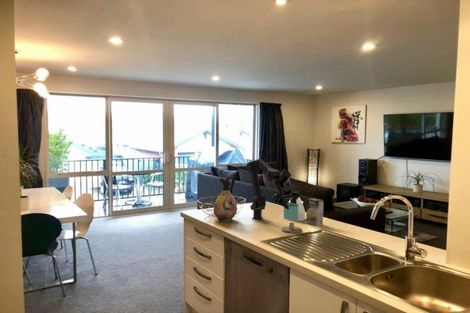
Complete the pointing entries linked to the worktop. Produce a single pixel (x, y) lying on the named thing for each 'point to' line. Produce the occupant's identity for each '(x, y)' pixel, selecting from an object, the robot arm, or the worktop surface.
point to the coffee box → (314, 212)
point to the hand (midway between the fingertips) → (292, 208)
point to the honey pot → (300, 210)
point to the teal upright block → (291, 212)
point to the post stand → (291, 229)
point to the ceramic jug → (225, 201)
